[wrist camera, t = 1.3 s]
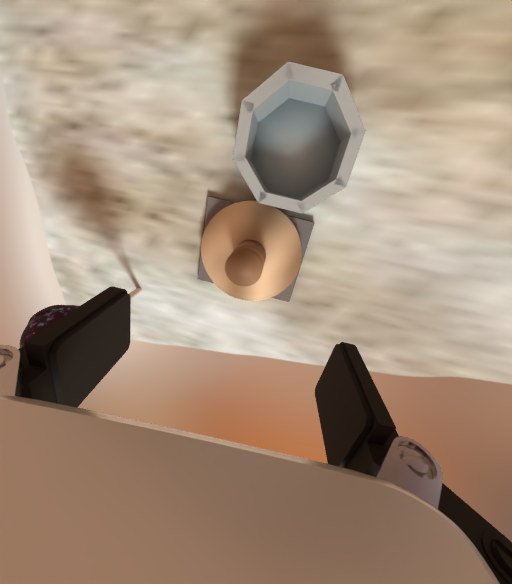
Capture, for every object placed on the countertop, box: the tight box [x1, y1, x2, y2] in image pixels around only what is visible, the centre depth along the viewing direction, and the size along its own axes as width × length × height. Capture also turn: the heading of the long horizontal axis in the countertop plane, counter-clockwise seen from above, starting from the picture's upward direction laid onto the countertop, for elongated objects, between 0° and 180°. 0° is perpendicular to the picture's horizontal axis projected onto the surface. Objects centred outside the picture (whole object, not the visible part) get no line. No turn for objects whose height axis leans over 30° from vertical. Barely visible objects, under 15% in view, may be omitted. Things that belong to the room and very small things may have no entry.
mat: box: [198, 196, 314, 302], centre depth 29 cm, size 12×10×1 cm
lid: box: [201, 201, 302, 301], centre depth 26 cm, size 12×12×6 cm
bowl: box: [233, 61, 366, 214], centre depth 22 cm, size 10×10×5 cm
